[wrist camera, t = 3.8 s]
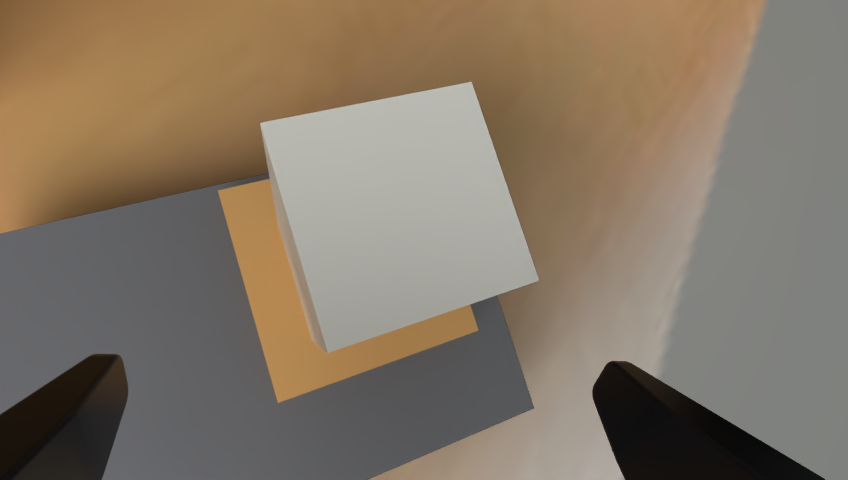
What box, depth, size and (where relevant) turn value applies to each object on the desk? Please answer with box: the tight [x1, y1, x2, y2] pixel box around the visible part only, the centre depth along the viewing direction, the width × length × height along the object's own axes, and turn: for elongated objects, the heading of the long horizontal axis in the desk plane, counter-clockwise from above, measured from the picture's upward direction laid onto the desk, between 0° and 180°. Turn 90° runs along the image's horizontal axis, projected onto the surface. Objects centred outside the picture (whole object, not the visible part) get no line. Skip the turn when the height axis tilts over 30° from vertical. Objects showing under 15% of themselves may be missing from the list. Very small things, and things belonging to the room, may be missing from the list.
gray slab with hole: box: [0, 173, 534, 480], centre depth 18 cm, size 11×16×3 cm
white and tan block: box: [218, 82, 539, 403], centre depth 14 cm, size 7×7×12 cm
